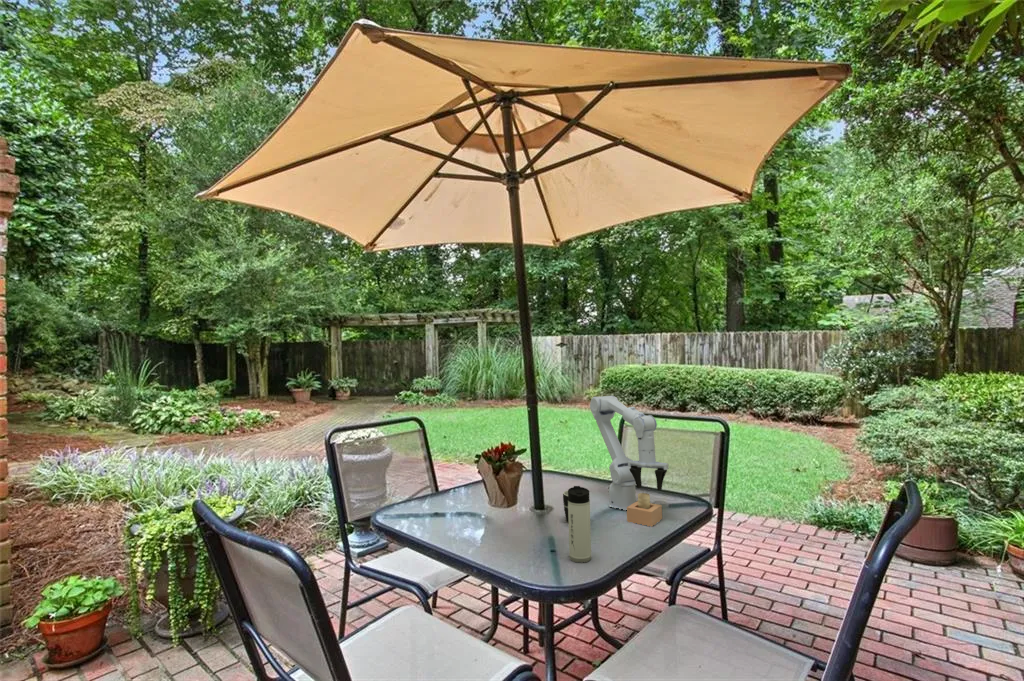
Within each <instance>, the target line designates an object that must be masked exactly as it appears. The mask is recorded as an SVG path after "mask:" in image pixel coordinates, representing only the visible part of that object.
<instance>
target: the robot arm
mask: <svg viewBox="0 0 1024 681" xmlns="http://www.w3.org/2000/svg"><path fill="white" fill-rule="evenodd" d="M589 409H590V412H591V414H592V416H593V418H594V420H595V422H596V425H597V427H598V429H599V432H600V435H601V437H602V439H603V442H604V443H605V447H606V449H607V451H608V454H609V456H610V458H611V460H612V462H611V463H610V465H609V467H608V468H609V471H610V473H609V474H610V478H611V480H612V482H611V483H610V485H609V489H608V497H609V498H608V499H609V505H608V507H609V506H610V505H611V506H610V507H612V506H613V507H614V508H613V509H616V508H619V509H618V510H621V509H623V510H622V511H626V510H627V507H628V506H630V505H631V504H633V503H635V502H636V501H637V500H636V499H637V498H636V496H637V495H636V488H637V489H640V488H642V470H643V469H655V470H654V474H655V479H656V488H657V491H661V490H662V489H663V484H664V483H663V482H664V479H665V476H666V474H667V472H668V470H669V463H666V462H660V461H657V458H656V447H655V446H656V445H655V434H654V433H655V431H656V430H657V425H658V423H657V420H656V418H655V417H654V416H653V415H652V414H648V415H646V414H645V413H644V412H643V411H639V410H638V409H636V407H635V406H629V407H627V406H626V405H625V404H624V403H622V402H621V401H620V400H619V399H618V397H616V396H615V395H605V396H604V395H603V396H593V397H592V398H591V399H590V403H589ZM616 413H617V414H619V415H620V416H622V419H623V420H624V421H625V422H627V423H628V424H629V425H631V426H632V427H633V430H634V431H635V436H636V438H637V449H638V460H633V459H631V458H630V457H628V456H626V454H625V452H624V449H623V447H622V445H621V443H620V440H619V438H618V435H617V434H616V431H615V429H614V426H613V425H612V422H611V420H612V419H613V418H614V417H615V414H616ZM610 507H609V508H610Z"/></svg>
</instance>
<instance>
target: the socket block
mask: <svg viewBox="0 0 1024 681" xmlns="http://www.w3.org/2000/svg"><path fill="white" fill-rule="evenodd" d="M661 519H662V520H663V505H662V504H659V503H652V502H650V509H643V508H638V500H636V502H635V503H633V504H631V505H630V506H628V507H627V511H626V522H627V521H628V522H627V523H630V522H633V523H632V524H635V523H637V524H636V525H640V524H642V525H641V526H644V525H647V526H646V527H649V526H651V527H650V528H653V527H654V526H656V523H657V522H658V523H659V522H661V521H662V520H661ZM660 520H661V521H660ZM658 523H657V524H658ZM653 525H654V526H653ZM652 526H653V527H652Z"/></svg>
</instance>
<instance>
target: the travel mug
mask: <svg viewBox="0 0 1024 681" xmlns="http://www.w3.org/2000/svg"><path fill="white" fill-rule="evenodd" d="M567 490H568V520H569V523H568V545H569V546H568V548H569V559H570V560H571V562H575V563H578V562H581V564H582V563H583V562H584V563H587V562H590V561H591V560H592V540H591V539H592V538H591V536H592V535H591V534H592V532H591V504H590V502H591V500H590V490H589V489H588V488H585V487H582V486H581V485H573V487H570V488H569V489H567ZM584 563H583V564H584Z"/></svg>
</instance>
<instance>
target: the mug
mask: <svg viewBox="0 0 1024 681" xmlns="http://www.w3.org/2000/svg"><path fill="white" fill-rule="evenodd" d="M568 490H569V489H567V490H565V491H563V492H562V500H563V510H564V516H565V519H566V520H565V521H566V522H567V524H569V520H568Z"/></svg>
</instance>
